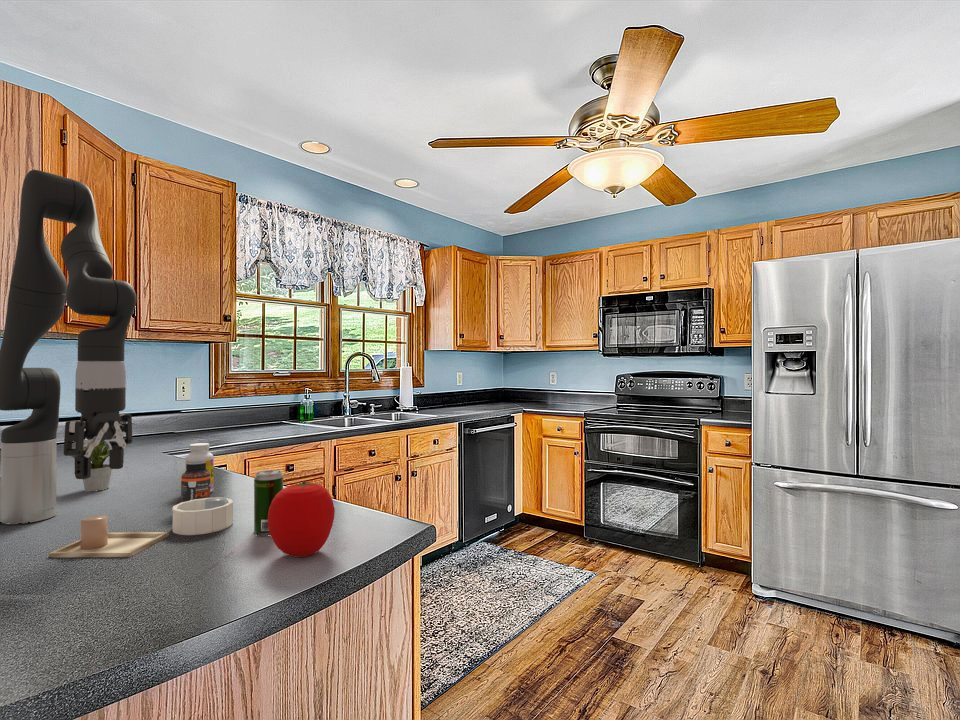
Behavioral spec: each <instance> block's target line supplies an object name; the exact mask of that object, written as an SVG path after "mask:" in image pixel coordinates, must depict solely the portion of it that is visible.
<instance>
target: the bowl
mask: <svg viewBox="0 0 960 720" xmlns="http://www.w3.org/2000/svg"><path fill="white" fill-rule="evenodd" d="M226 498H227V504H225V505H223V506H220V507H216V508H212V509H205V500H206V499H209V498H203V499H195V500H190V501H186V502H181V501H180V502H179V503H178V504H175V505H173V506H172V533H174V534H176V535H181V536H196V535H198V536H199V535H205V534H212V533H215V532H220V531H223V530H225V529H227V528H229V527H231V526H232V525H233V524H234V502H233V498H228V497H226Z"/></svg>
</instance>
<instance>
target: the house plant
mask: <svg viewBox="0 0 960 720" xmlns="http://www.w3.org/2000/svg"><path fill="white" fill-rule="evenodd" d="M105 442H106V441H101V442H99V444H98V446H96V447H94V449H93V451H92V453H91V455H90V456H89V457H91V476H90V478H87V479H82V483H83V487H84V491H85V490H86V491H95V492H97V491H96V490H102V491H104V490H103V489H106V490H108V489H109V488H110V482H111V477H112V472H113V469H110V468H109V463H106V464H105V461H106V459H107V458H109V450H111V448H110V447H109V445H108V444H107V443H105ZM73 443H75V442H74V441H73ZM75 444H76V443H75ZM85 449H86V447H83V450H85ZM124 456H126V455H125V453H124ZM107 488H108V489H107ZM86 491H85V492H86Z"/></svg>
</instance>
